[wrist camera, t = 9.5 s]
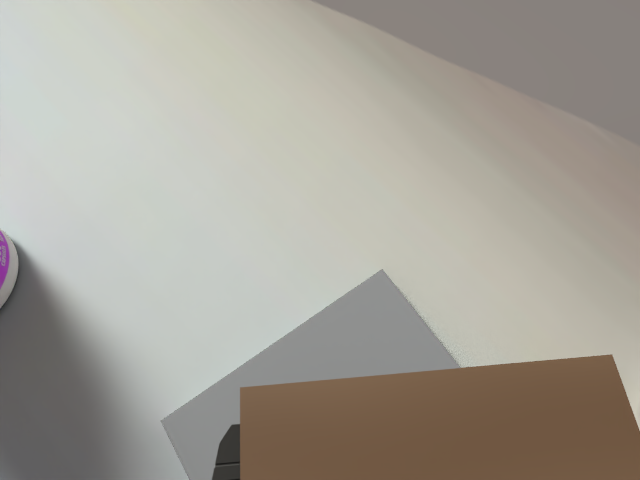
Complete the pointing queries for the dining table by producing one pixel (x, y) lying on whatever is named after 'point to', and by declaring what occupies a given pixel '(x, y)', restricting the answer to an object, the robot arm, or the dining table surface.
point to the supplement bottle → (7, 266)
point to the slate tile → (313, 364)
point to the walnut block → (445, 425)
